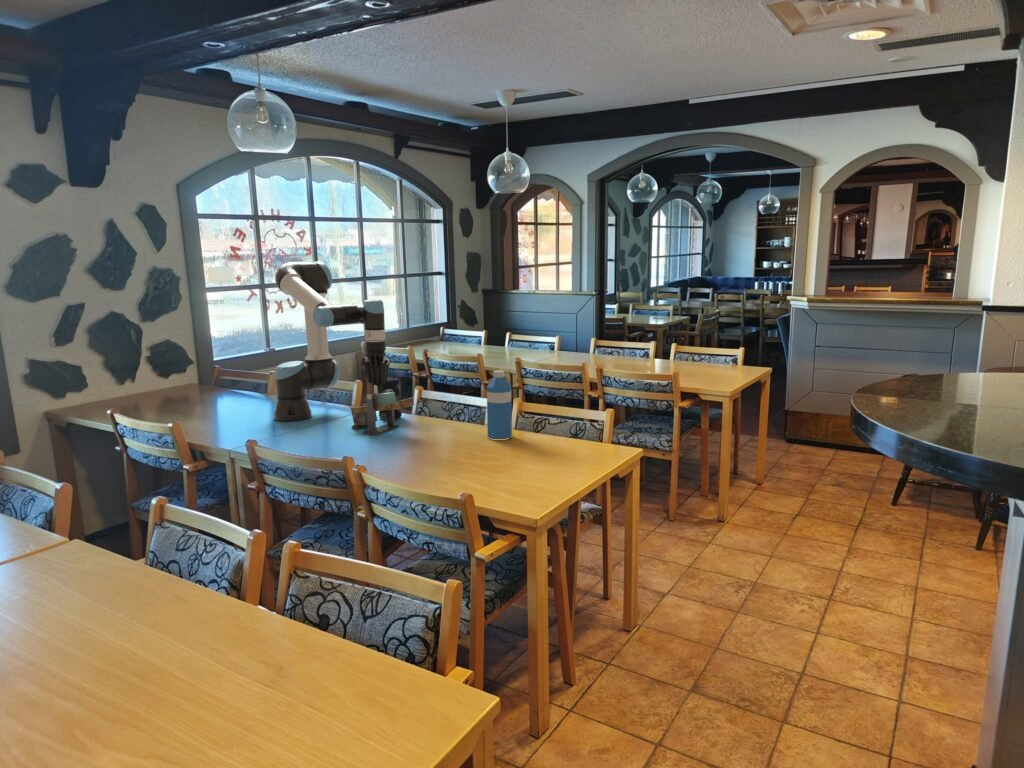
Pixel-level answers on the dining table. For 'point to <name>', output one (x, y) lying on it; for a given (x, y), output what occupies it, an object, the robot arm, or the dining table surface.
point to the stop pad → (359, 426)
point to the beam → (377, 409)
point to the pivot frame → (372, 422)
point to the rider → (386, 398)
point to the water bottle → (499, 407)
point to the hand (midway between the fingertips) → (378, 401)
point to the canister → (394, 385)
